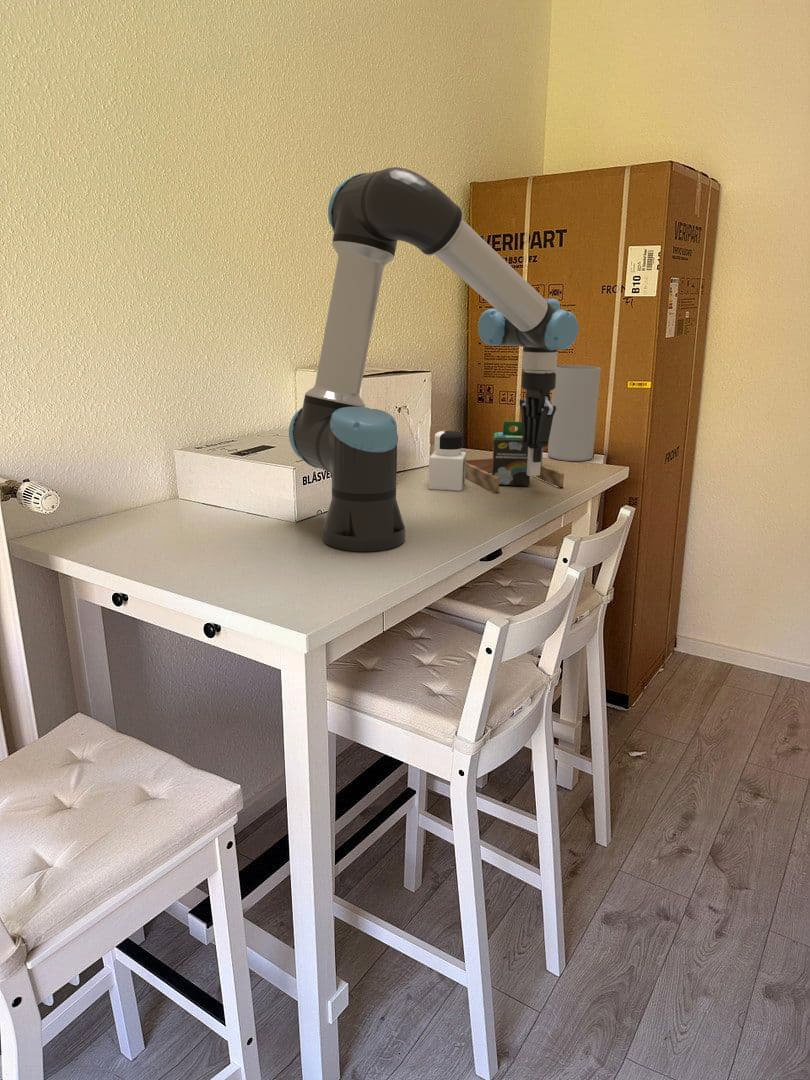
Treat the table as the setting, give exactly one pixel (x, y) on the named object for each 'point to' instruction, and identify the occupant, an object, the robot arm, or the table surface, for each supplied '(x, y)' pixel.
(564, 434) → the cylinder vase
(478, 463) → the bay
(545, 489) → the table surface
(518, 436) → the chalk box
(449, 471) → the container
